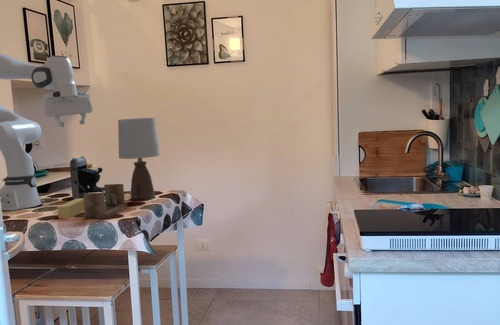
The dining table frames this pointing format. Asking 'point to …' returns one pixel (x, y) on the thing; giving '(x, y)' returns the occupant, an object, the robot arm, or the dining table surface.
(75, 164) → the vintage camera
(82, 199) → the plank
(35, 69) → the robot arm
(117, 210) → the brown u-shaped block
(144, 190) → the lamp
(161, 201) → the dining table surface
